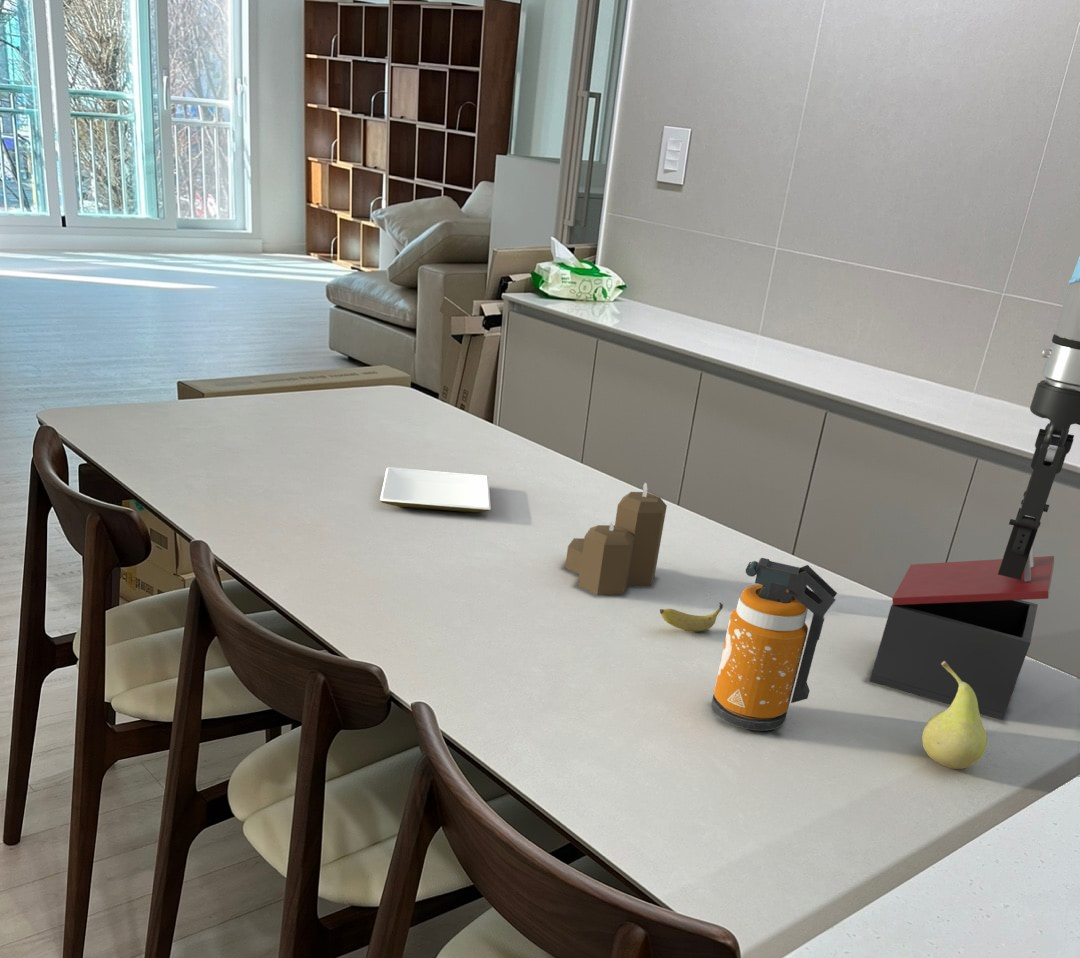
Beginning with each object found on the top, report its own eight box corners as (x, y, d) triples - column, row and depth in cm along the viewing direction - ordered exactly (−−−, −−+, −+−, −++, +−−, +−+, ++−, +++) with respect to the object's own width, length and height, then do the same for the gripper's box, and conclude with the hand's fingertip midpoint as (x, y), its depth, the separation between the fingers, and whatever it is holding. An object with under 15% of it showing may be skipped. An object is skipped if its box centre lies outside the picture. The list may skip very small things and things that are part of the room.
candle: (639, 559, 171) (654, 469, 164) (670, 594, 160) (687, 499, 153) (559, 559, 168) (570, 467, 160) (584, 594, 156) (598, 497, 149)
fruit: (966, 787, 119) (1000, 694, 114) (902, 761, 123) (932, 669, 117) (984, 765, 124) (1017, 675, 118) (922, 740, 128) (951, 652, 122)
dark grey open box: (1011, 676, 147) (1038, 604, 142) (1002, 720, 135) (1030, 642, 130) (889, 642, 153) (909, 571, 148) (869, 681, 141) (891, 605, 136)
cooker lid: (1054, 563, 139) (1052, 503, 136) (1048, 598, 127) (1046, 534, 124) (911, 571, 148) (906, 515, 145) (892, 605, 136) (887, 544, 133)
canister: (717, 691, 133) (750, 542, 124) (805, 714, 131) (845, 563, 121) (703, 723, 126) (736, 566, 116) (796, 747, 123) (838, 589, 114)
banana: (660, 638, 146) (665, 611, 144) (652, 630, 147) (657, 604, 146) (722, 632, 150) (728, 606, 148) (713, 625, 151) (718, 599, 150)
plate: (487, 485, 197) (488, 475, 196) (489, 520, 180) (490, 508, 179) (386, 477, 195) (386, 466, 194) (379, 510, 178) (379, 499, 177)
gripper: (1044, 367, 133) (989, 539, 144) (1033, 391, 117) (972, 583, 128) (1108, 378, 131) (1047, 552, 141) (1106, 404, 114) (1038, 599, 125)
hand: (1012, 567), depth 134 cm, fingers closed on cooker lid, 7 cm apart
